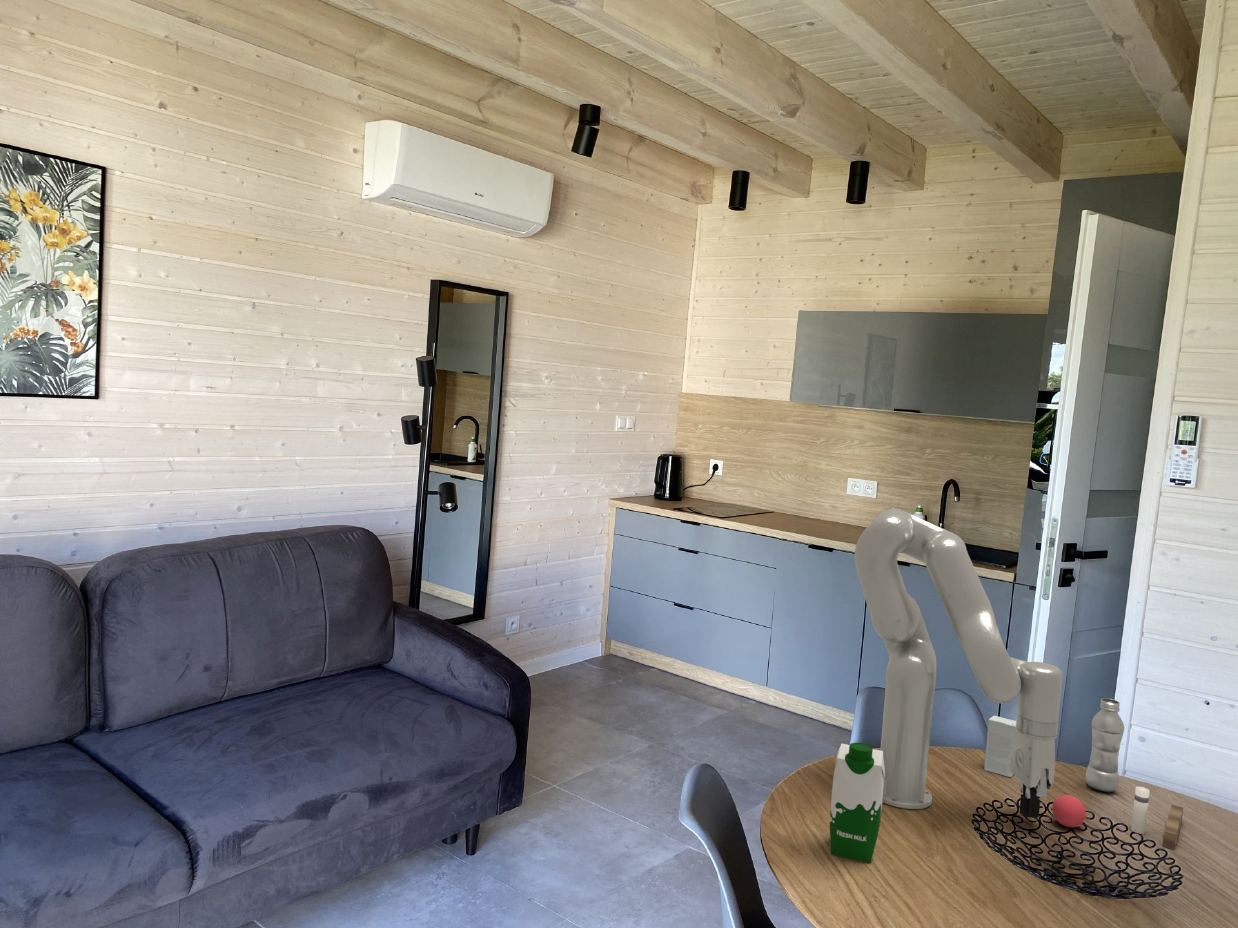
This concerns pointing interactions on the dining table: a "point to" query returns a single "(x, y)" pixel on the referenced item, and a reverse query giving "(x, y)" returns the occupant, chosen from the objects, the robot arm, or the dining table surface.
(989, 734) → the skincare box
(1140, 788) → the pin
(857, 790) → the milk carton
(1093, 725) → the plastic bottle
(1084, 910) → the dining table surface
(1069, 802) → the ball
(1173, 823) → the board
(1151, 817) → the dining table surface
